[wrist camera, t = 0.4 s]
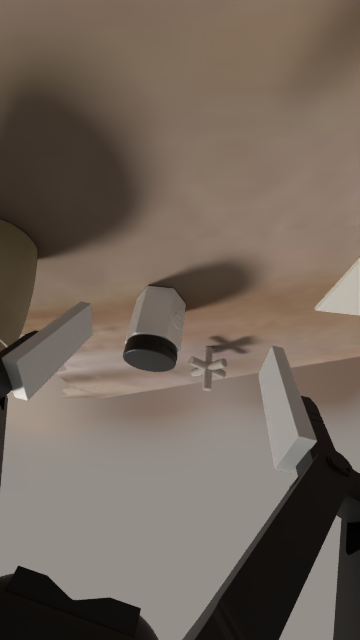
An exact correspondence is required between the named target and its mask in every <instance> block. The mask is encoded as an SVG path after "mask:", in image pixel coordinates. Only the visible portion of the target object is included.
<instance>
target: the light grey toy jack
mask: <svg viewBox="0 0 360 640" xmlns="http://www.w3.org/2000/svg"><path fill="white" fill-rule="evenodd" d="M188 363H189V364H190V365H192V366H195V367H197V368H195V369H192V370H191V375H192V376H193V377H196V376H199V375H202V374H203V390H205V391H210V390H211V377H212V374H214V375H216V376H218V377H221V378H224V377H225V376H226V372H225V371H224V370H222V369H220V368H223V367H226V366H227V361H226V360H225V359H220V360H217V361H214V362H212V347H210V346H207V347H205V354H204V361H202V360H199V359H197V358H195V357H193V356H191V357H190V358H189V361H188Z"/></svg>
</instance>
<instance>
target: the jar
mask: <svg viewBox="0 0 360 640" xmlns="http://www.w3.org/2000/svg"><path fill="white" fill-rule="evenodd" d="M185 308H186V304H185V302H184V301H183V300H182V299H181V297H180V296H179V295H178V293H177V292H176V290H175V289H174V288H165V287H156V286H147V287H146V288H145V289H144V291H143V292H142V293H141V295H140V296H139V297H138V298H137V301H136V304H135V308H134V311H133V315H132V318H131V322H130V325H129V329H128V332H127V336H126V339H125V344H126V346H125V350H124V353H123V358H124V360H125V361H126V362H127V363H128V364H130V365H131V366H133V367H136V368H138V369H142V370H146V371H152V372H164V371H168V370H171V369H173V368H174V367H175V365H176V361H177V352H178V351H179V350H180V349H181V341H182V333H183V325H184V316H185Z"/></svg>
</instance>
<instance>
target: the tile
mask: <svg viewBox="0 0 360 640" xmlns="http://www.w3.org/2000/svg"><path fill="white" fill-rule="evenodd" d="M315 310H317V311H326V312H335V313H343V314H352V315H360V258H359V259H358V260H357V261H356V262H355V263H354V264H353V265H352V267H351V268H350V269H349V270H348V271H347V272H346V273H345V274H344V275H343V277H342V278H341V279H340V280H339V281H338V282H337V283H336V284H335V285H334V287H333V288H332V289H331V290H330V291H329V292H328V293H327V294H326V295H325V297H324V298H323V299H322V300H321V301H320V302H319V303H318V304H317V305H316V307H315Z"/></svg>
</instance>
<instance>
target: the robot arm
mask: <svg viewBox="0 0 360 640" xmlns="http://www.w3.org/2000/svg"><path fill="white" fill-rule="evenodd" d="M92 335H93V332H92V315H91V304H90V303H86V302H80V303H78V304H77V305H75V306H74V307H73V308H71V309H70V310H68V311H67V312H66V313H64V314H63V315H61V316H60V317H59V318H57V319H56V320H54V321H53V322H52V323H50V324H49V325H47V326H46V327H45V328H43V329H42V330H40V331H33V332H30V333H28V334H25V335H24V336H23V337H21V338H20V339H19V340H17V341H15V342H14V343H13V344H11V345H9V346H8V347H6V348H5V349H3V350H2V351H1V352H0V485H1V473H2V461H3V450H4V438H5V437H4V436H5V425H6V415H7V402H8V398H7V394H8V393H9V392H10V391H11V390H13V393H14V396H15V397H16V398H20V399H24V400H29V399H30V398H31V397H32V396H33V395H34V394H35V393H36V392H37V391H38V390H39V389H40V388H41V387H42V386H43V385H44V384H45V383H46V382H47V381H48V379H50V378H51V376H52V375H54V373H55V372H56V371H57V370H58V369H59V368H60V367H61V366H62V365H63V364H64V363H65V362H66V361H67V360H68V359H69V358H70V357H71V356H72V355H73V354H74V353H75V352H76V351H77V350H78V349H79V348H80V347H81V346H82V345H83V344H84V343H85V342H86V341H87V340H88V339H89V338H90V337H91V336H92ZM259 381H260V387H261V392H262V398H263V404H264V410H265V416H266V421H267V427H268V433H269V439H270V444H271V451H272V456H273V463H274V468H275V470H279V471H282V472H286V473H290V474H291V473H292V472H293V470H294V469H295V468H296V470H297V474H298V478H297V479H296V480H295V481H294V482H293V484H292V485H291V486H290V489H289V490H288V491H287V493H286V494H285V496H284V497H283V499H282V500H281V502H280V503H279V504H278V506H277V507H276V509H275V510H274V511H273V513H272V514H271V516H270V517H269V519H268V520H267V522H266V523H265V524H264V526H263V527H262V529H261V530H260V531H259V533H258V534H257V536H256V537H255V539H254V540H253V542H252V543H251V544H250V546H249V547H248V549H247V550H246V552H245V553H244V554H243V556H242V557H241V559H240V560H239V561H238V563H237V564H236V566H235V567H234V569H233V570H232V571H231V573H230V575H229V576H228V577H227V579H226V580H225V582H224V583H223V584H222V586H221V587H220V589H219V590H218V592H217V593H216V594H215V596H214V597H213V599H212V600H211V602H210V603H209V604H208V606H207V607H206V609H205V610H204V612H203V613H202V614H201V616H200V617H199V618H198V620H197V621H196V623H195V624H194V625H193V626H192V628H191V629H190V630H189V632H188V633H187V634H186V636H185V637H184V638H183V640H279V638H280V636H281V634H282V631H283V629H284V627H285V625H286V623H287V621H288V618H289V616H290V614H291V612H292V610H293V608H294V605H295V603H296V601H297V599H298V597H299V594H300V592H301V590H302V588H303V586H304V584H305V581H306V580H307V577H308V575H309V573H310V571H311V568H312V566H313V564H314V562H315V560H316V558H317V556H318V553H319V551H320V549H321V547H322V545H323V542H324V541H325V538H326V536H327V534H328V532H329V530H330V528H331V525H332V523H333V521H334V519H335V517H336V515H337V516H338V517H340V518H342V521H341V535H340V549H339V550H340V551H339V564H338V578H337V593H336V608H335V622H334V637H333V640H360V473H358V472H356V471H355V470H353V469H352V466H351V465H350V464H349V462H348V461H347V459H345V458H344V457H343V456H342V455H341V454H340V453H338V452H337V451H336V450H335V448H334V446H333V443H332V441H331V439H330V436H329V434H328V431H327V429H326V427H325V424H323V420H322V417H321V416H320V413H319V410H318V408H317V406H316V405H315V403H314V402H313V401H312V400H311V399H310V398H308V397H304V396H301V395H300V393H299V390H298V387H297V385H296V382H295V379H294V376H293V374H292V371H291V368H290V365H289V363H288V360H287V357H286V354H285V352H284V349H283V348H280V347H276V346H271V348H270V351H269V353H268V355H267V357H266V359H265V362H264V364H263V366H262V368H261V370H260V373H259ZM140 610H141V609H140V608H138V607H135V606H132V605H130V604H127V603H124V602H121V601H118V600H115V599H112V598H98V599H86V600H72V599H71V598H70V597H68V596H67V595H66V594H65V593H64V592H63V591H62V590H61V589H60V588H59V587H58V586H57V585H56V584H55V583H54V582H53V581H52V580H51V579H50V578H49V577H48V576H47V575H44V574H41V573H38V572H35V571H32V570H29V569H26V568H24V567H21V566H18V567H17V569H16V571H15V573H14V574H9V575H5V576H1V577H0V640H158V638H157V636H156V634H155V633H154V631H153V630H152V628H151V627H150V625H149V624H148V623H147V622H146V621H145V620H144V619H143V618H142V617H141V616H140Z"/></svg>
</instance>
